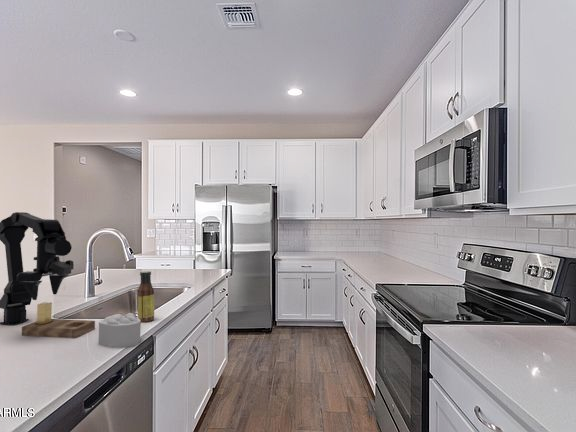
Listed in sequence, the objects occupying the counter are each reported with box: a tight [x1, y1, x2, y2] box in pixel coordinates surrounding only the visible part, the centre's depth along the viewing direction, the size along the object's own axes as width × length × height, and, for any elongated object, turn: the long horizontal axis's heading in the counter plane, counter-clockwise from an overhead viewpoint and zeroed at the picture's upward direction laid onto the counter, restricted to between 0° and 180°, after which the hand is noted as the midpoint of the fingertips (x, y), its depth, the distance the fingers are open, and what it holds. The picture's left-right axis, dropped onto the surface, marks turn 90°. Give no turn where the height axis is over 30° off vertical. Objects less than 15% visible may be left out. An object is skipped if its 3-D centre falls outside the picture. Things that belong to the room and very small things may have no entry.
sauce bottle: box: [137, 270, 155, 323], centre depth 139 cm, size 6×6×20 cm
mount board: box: [21, 318, 96, 339], centre depth 123 cm, size 20×10×3 cm, turn 85°
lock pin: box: [36, 302, 53, 325], centre depth 123 cm, size 3×3×10 cm
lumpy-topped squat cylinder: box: [98, 312, 142, 349], centre depth 115 cm, size 10×13×9 cm
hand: (45, 297), depth 124 cm, fingers open, 9 cm apart
